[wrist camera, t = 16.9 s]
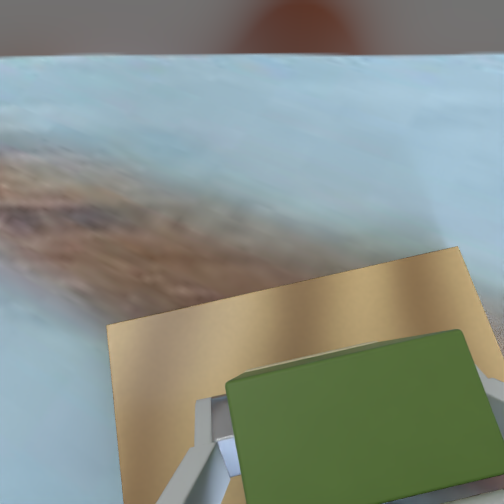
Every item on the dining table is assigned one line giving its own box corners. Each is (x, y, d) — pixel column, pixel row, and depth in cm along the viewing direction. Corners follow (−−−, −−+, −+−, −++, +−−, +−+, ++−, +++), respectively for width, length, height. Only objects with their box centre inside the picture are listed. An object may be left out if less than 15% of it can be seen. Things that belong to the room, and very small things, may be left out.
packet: (359, 343, 17) (462, 325, 8) (380, 412, 16) (519, 476, 7) (245, 369, 17) (223, 379, 8) (260, 440, 16) (252, 539, 7)
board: (449, 250, 21) (458, 245, 20) (532, 457, 18) (547, 462, 17) (113, 326, 21) (105, 325, 20) (136, 551, 18) (128, 562, 17)
